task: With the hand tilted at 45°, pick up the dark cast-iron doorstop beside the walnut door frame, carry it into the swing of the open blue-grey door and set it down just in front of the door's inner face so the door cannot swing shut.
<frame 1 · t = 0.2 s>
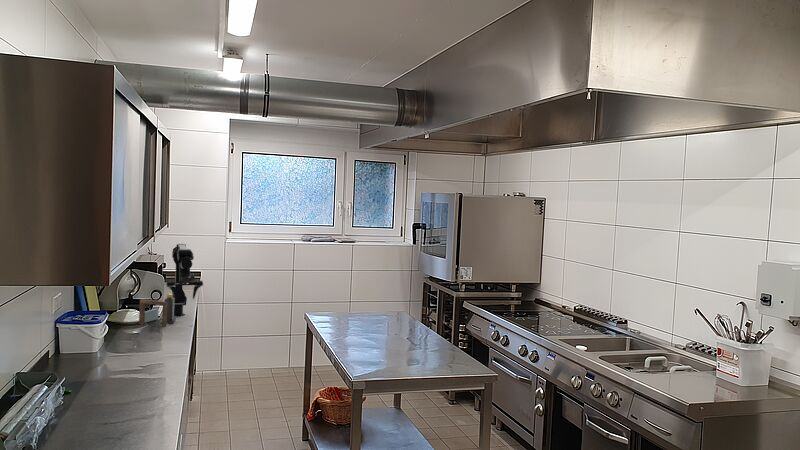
hand: (184, 299, 332), 15 cm above the table, tool pointing down, fingers open, 9 cm apart
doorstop: (168, 322, 342), on the table
door: (150, 315, 343), point 3 cm above the table, hinge at 90.0°
door frame: (152, 325, 334), on the table
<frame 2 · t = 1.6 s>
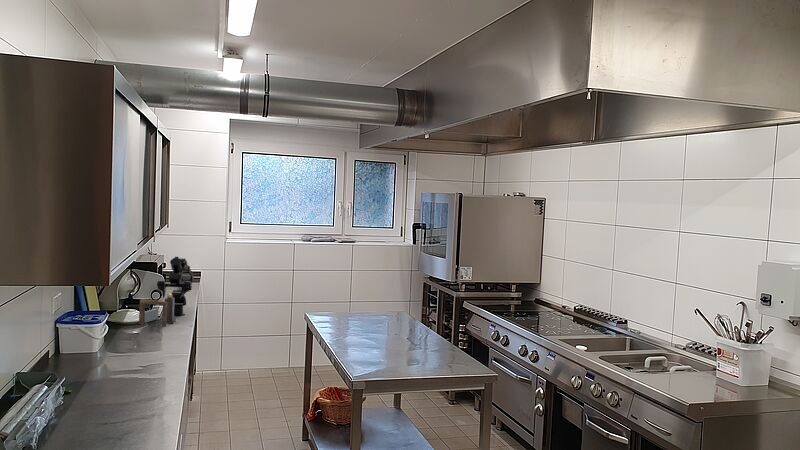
hand: (171, 297, 347), 13 cm above the table, tool tilted 45°, fingers open, 9 cm apart
nothing on the table moved.
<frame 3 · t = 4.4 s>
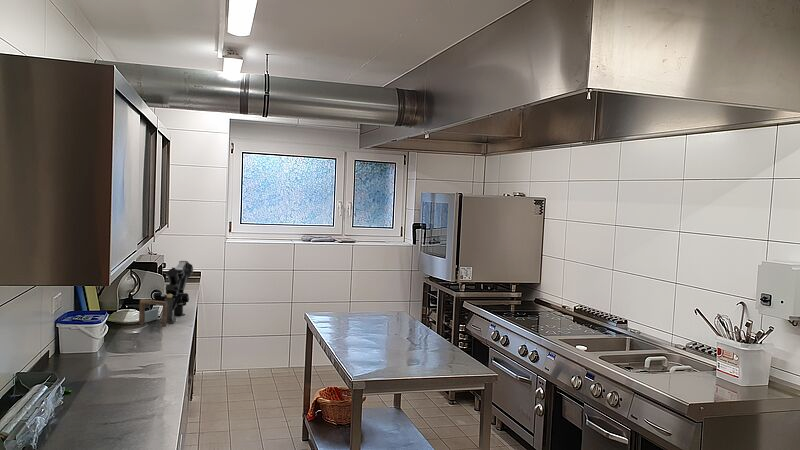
hand: (168, 309, 340), 8 cm above the table, tool tilted 45°, fingers closed on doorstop, 4 cm apart
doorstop: (168, 322, 342), on the table, touching gripper
everything else where it was.
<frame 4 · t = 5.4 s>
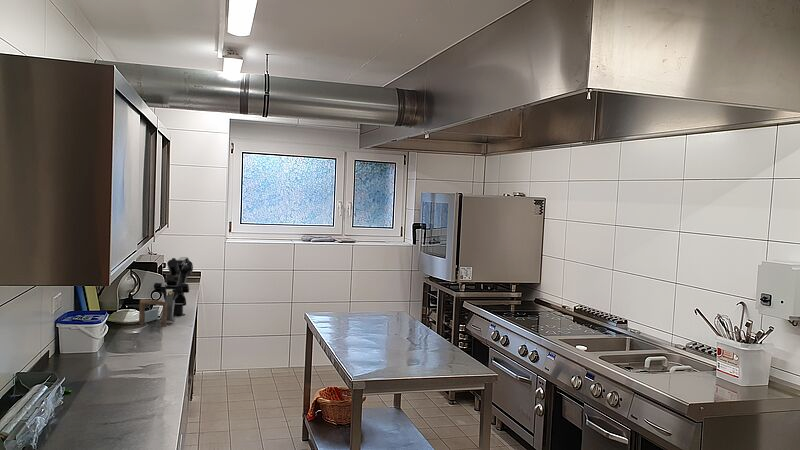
hand: (168, 299, 340), 13 cm above the table, tool tilted 45°, fingers closed on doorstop, 4 cm apart
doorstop: (167, 320, 339), point 2 cm above the table, tilted 21°, touching gripper
everything else where it was.
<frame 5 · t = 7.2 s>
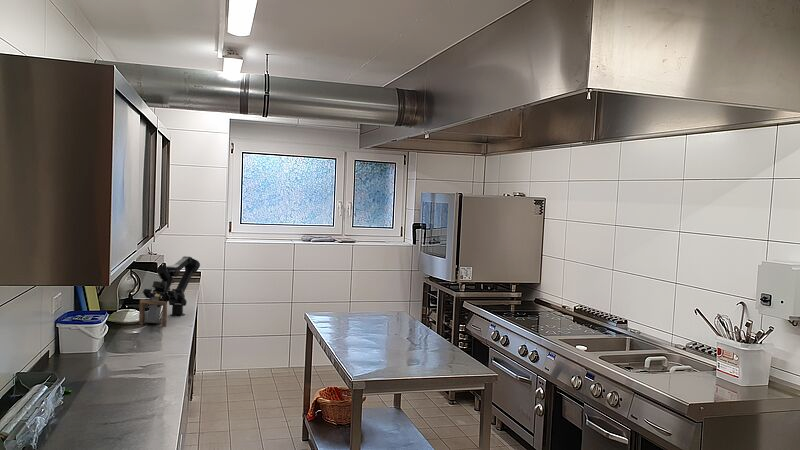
hand: (154, 306, 337), 10 cm above the table, tool tilted 45°, fingers closed on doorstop, 4 cm apart
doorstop: (152, 322, 336), point 1 cm above the table, tilted 16°, touching gripper
everything else where it was.
when the fingers open (10 cm above the table, at t = 7.8 s): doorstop stays where it is, on the table.
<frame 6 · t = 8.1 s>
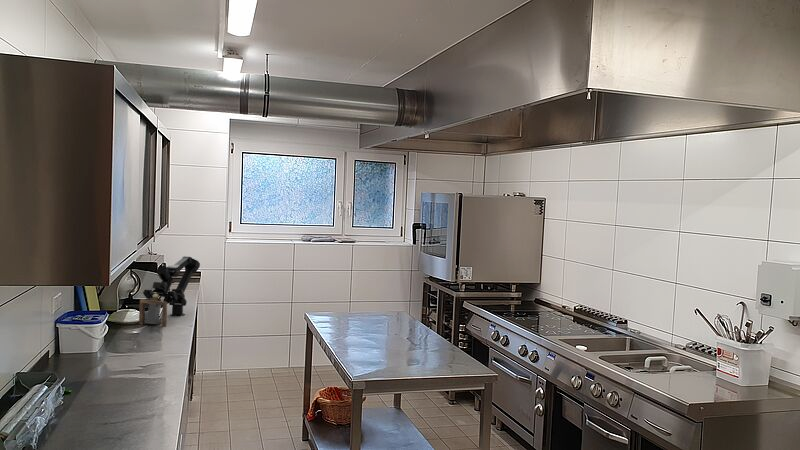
hand: (154, 307, 337), 9 cm above the table, tool tilted 45°, fingers open, 7 cm apart
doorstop: (152, 323, 336), on the table, tilted 9°
everything else where it was.
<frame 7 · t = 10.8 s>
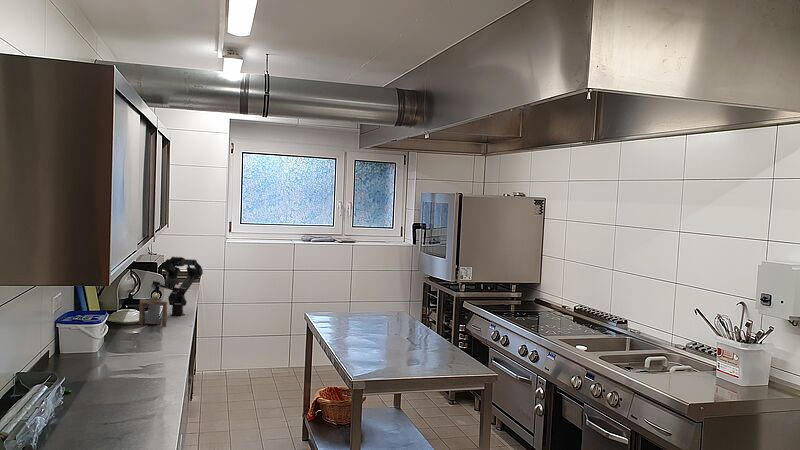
hand: (164, 301, 348), 11 cm above the table, tool tilted 30°, fingers open, 9 cm apart
nothing on the table moved.
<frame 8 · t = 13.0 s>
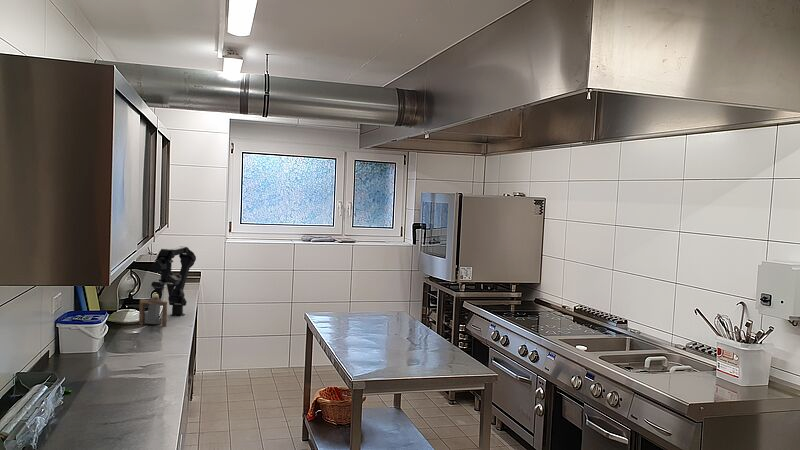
hand: (165, 297, 349), 13 cm above the table, tool pointing down, fingers open, 9 cm apart
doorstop: (152, 323, 336), on the table, tilted 9°, touching door frame
everything else where it was.
at the end: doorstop inside the target area (3.0 cm from its centre), point 0.5 cm above the table; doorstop tilted 9°; door at +90° (first picture: +90°) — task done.
